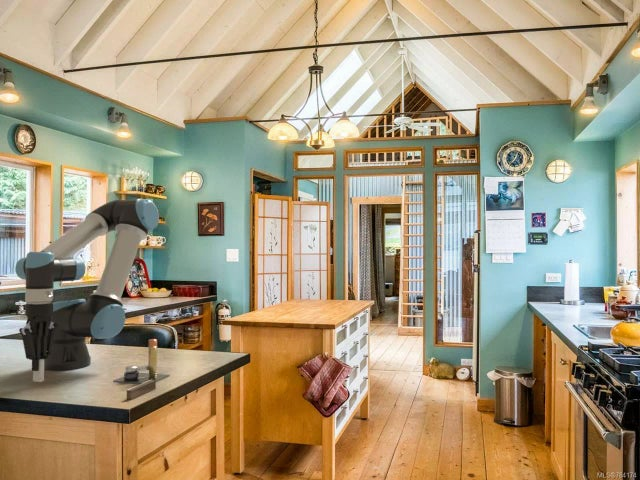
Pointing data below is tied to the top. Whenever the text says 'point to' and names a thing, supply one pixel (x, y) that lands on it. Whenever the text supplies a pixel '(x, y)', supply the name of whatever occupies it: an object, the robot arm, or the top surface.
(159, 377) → the crank base
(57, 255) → the robot arm
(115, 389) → the top surface
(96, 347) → the top surface
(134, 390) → the batten
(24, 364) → the top surface
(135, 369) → the crank
